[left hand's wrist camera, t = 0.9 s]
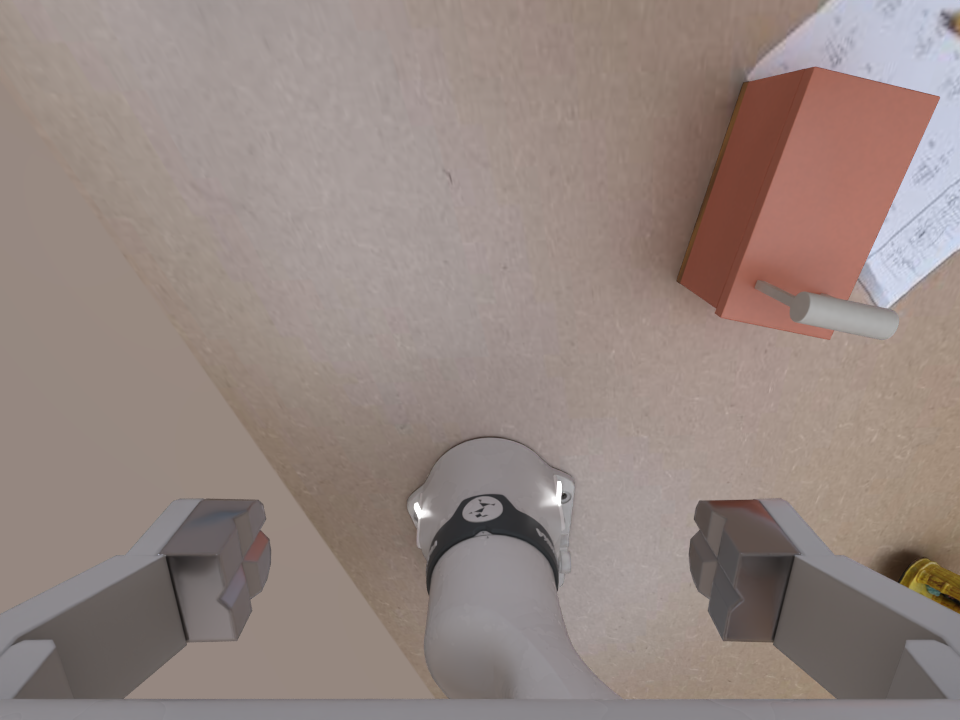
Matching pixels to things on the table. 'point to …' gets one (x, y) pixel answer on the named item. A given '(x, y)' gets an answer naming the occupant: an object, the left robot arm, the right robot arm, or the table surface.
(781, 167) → the lid
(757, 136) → the chest
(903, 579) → the shrine
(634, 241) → the table surface
